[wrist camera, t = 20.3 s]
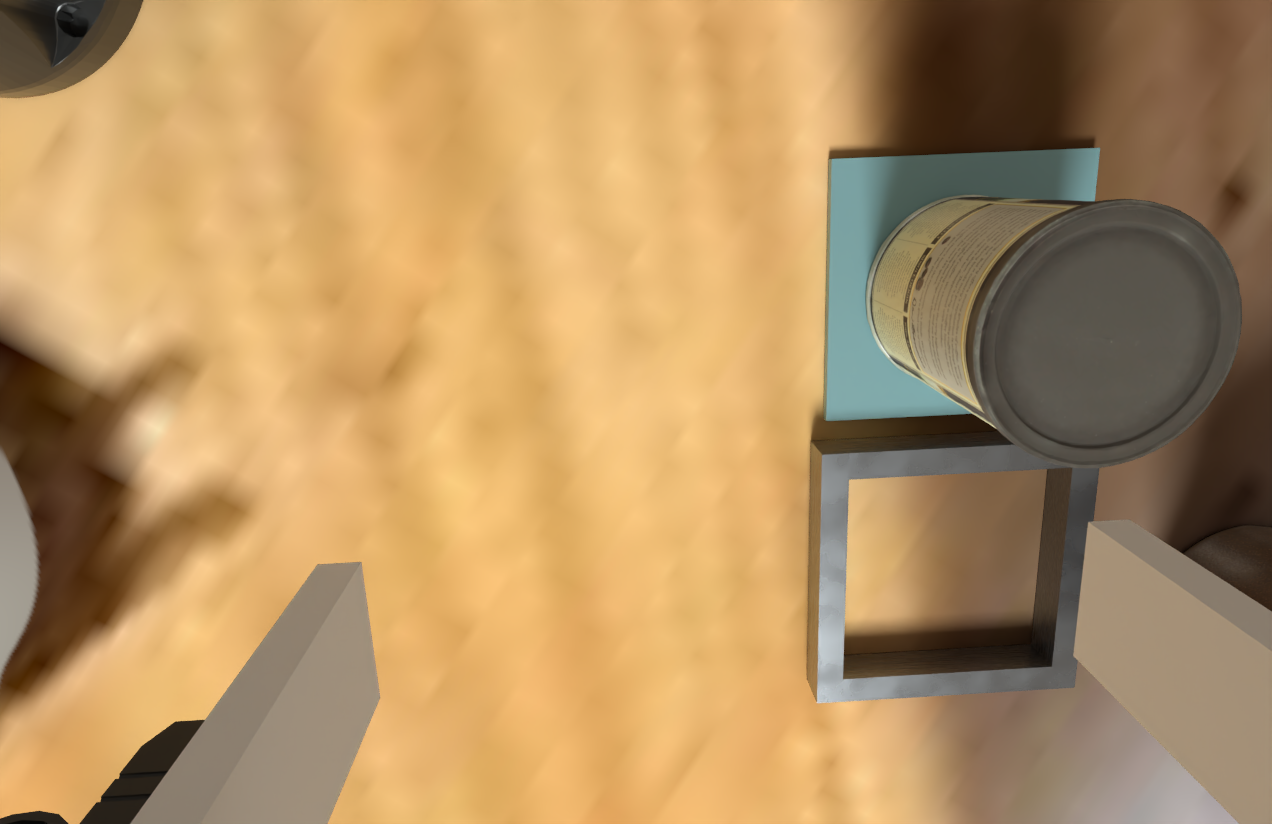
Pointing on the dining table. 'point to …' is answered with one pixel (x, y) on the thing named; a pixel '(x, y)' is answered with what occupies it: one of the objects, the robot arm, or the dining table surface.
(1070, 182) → the mat
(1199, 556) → the plant pot
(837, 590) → the socket frame
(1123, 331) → the coffee can
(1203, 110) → the dining table surface
